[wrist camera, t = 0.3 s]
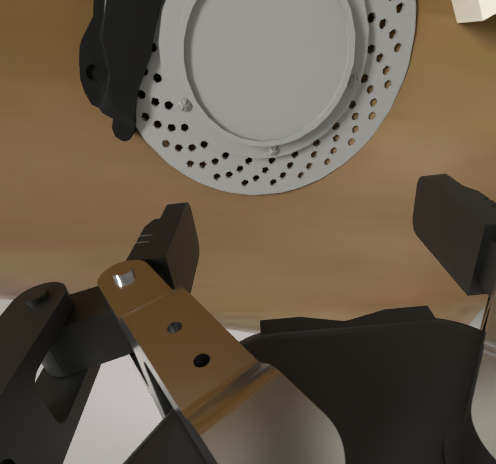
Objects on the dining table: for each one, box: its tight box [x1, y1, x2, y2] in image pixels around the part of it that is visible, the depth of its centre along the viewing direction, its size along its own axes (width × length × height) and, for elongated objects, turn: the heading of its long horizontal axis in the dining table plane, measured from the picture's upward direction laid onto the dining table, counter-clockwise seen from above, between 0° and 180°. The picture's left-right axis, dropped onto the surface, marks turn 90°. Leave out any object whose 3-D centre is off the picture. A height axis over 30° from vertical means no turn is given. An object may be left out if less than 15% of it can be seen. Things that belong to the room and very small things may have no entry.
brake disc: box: [79, 0, 416, 195], centre depth 33 cm, size 32×30×5 cm
